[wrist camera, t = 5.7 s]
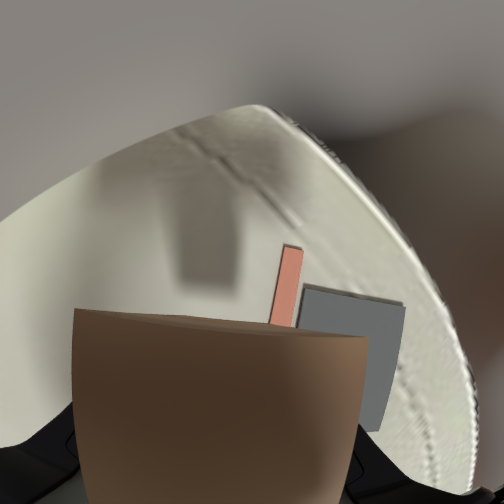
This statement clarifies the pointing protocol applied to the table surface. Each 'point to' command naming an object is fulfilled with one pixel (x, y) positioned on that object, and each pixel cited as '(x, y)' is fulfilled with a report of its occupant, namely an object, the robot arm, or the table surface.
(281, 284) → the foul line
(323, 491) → the walnut block
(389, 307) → the mat
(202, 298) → the table surface
